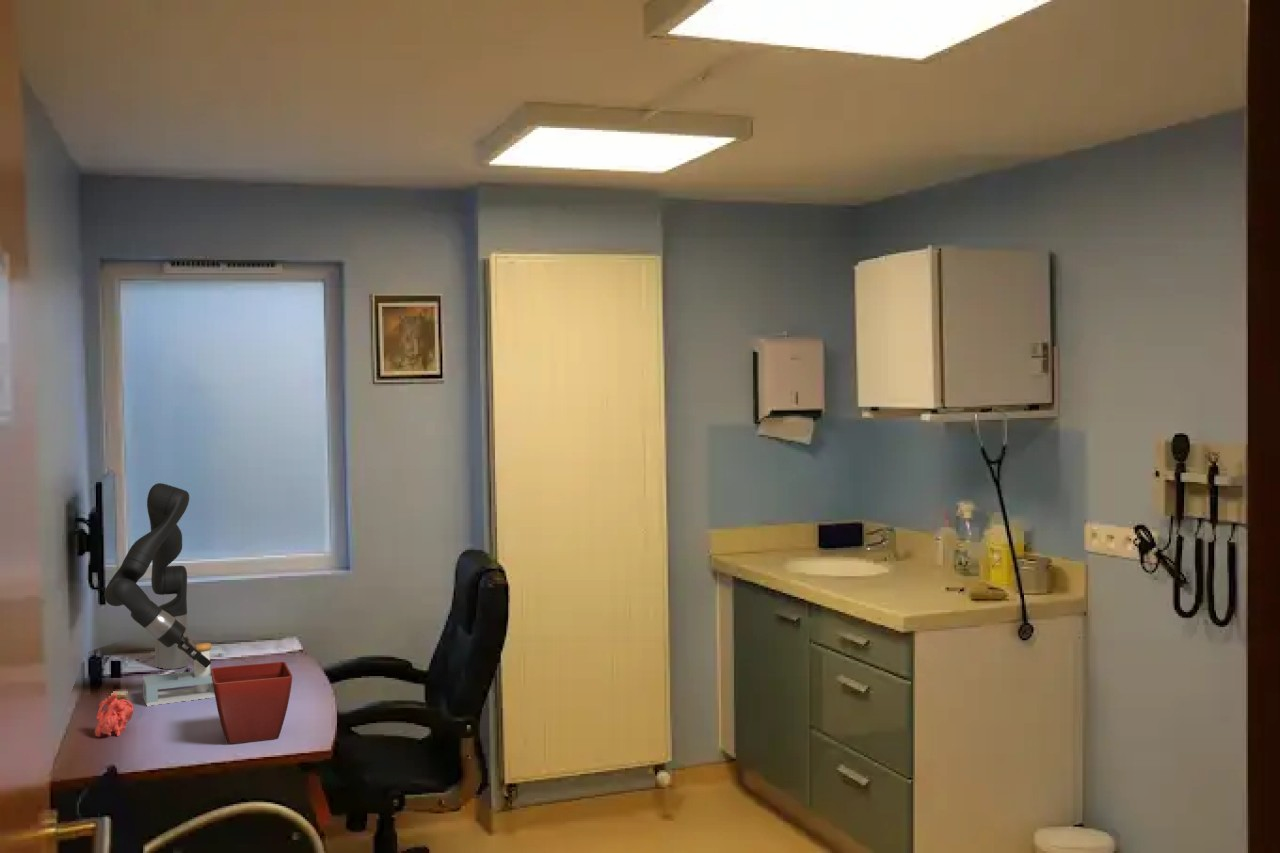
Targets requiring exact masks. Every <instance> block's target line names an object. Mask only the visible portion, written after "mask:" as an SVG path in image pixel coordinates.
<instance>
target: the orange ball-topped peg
mask: <svg viewBox="0 0 1280 853" xmlns="http://www.w3.org/2000/svg"><path fill="white" fill-rule="evenodd" d="M194 645H195V646H196V647H198V651H199V652H201V653H202V655H204V656H205V657H206V658H207V659H208V660H210V661H211V649H212V644H211V642H197V643H195V644H194ZM196 653H197V652H194V655H195V654H196ZM194 655H193V656H194ZM210 669H211V664H210V665H209V666H208V667H204V666H203V665H202V664H200V663H199V662H198V661H197V660H193V671H194V678H197V677H205V676H210ZM210 686H211V683H208V684H200V685H193V688H194V692H195V693H205V692H209V691H210Z"/></svg>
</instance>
